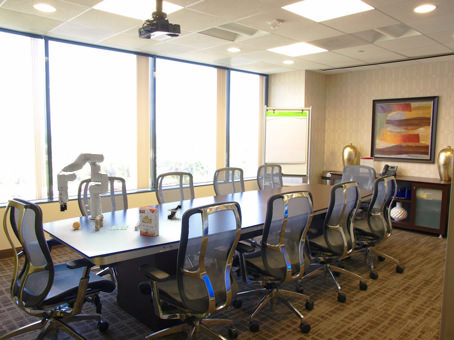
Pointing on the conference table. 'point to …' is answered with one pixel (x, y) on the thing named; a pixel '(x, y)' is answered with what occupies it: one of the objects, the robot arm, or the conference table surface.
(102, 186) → the robot arm
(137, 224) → the stopper
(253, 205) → the conference table surface
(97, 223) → the bridge
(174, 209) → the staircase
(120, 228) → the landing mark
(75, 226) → the ball
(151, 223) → the cracker box
